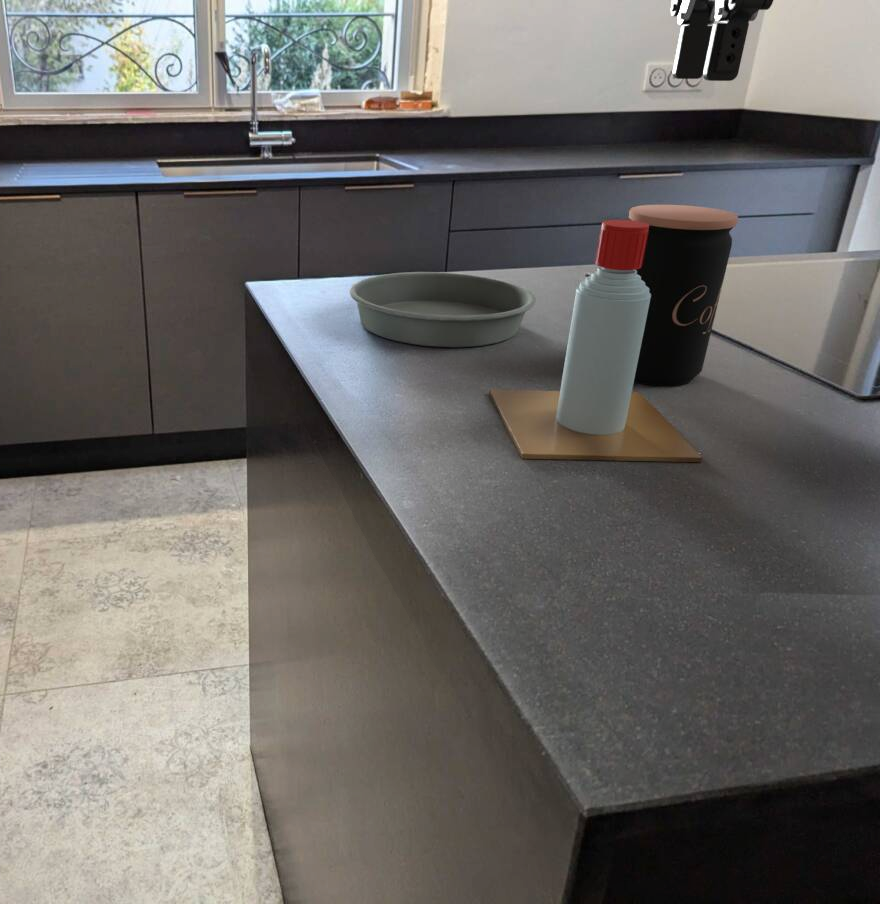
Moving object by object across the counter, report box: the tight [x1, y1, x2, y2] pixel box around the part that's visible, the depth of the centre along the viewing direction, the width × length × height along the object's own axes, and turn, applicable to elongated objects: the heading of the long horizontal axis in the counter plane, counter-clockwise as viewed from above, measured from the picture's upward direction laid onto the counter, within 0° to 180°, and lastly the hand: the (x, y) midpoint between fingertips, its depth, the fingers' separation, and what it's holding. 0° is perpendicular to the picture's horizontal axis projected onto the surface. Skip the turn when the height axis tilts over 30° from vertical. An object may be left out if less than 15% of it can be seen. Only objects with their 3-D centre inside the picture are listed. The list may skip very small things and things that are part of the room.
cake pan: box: [348, 271, 537, 348], centre depth 111 cm, size 25×25×4 cm
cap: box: [594, 219, 649, 270], centre depth 73 cm, size 4×4×4 cm
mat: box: [488, 389, 703, 463], centre depth 81 cm, size 16×16×1 cm
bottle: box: [556, 266, 651, 435], centre depth 77 cm, size 6×6×18 cm
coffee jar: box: [628, 204, 739, 387], centre depth 91 cm, size 11×11×18 cm
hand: (702, 78), depth 62 cm, fingers open, 5 cm apart
